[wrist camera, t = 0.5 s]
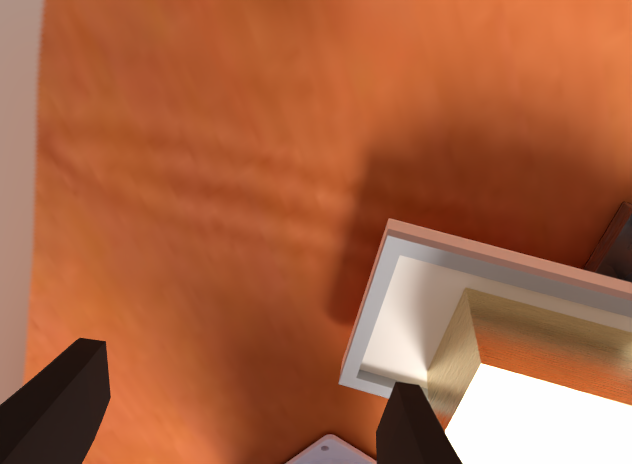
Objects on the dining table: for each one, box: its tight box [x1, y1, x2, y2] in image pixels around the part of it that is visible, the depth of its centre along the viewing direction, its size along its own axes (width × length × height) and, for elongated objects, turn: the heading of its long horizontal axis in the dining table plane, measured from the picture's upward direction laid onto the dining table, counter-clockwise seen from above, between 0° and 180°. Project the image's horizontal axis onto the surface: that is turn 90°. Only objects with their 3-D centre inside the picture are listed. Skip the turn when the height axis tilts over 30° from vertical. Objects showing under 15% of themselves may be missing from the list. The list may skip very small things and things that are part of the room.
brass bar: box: [427, 287, 632, 464], centre depth 18 cm, size 8×5×4 cm, turn 78°
